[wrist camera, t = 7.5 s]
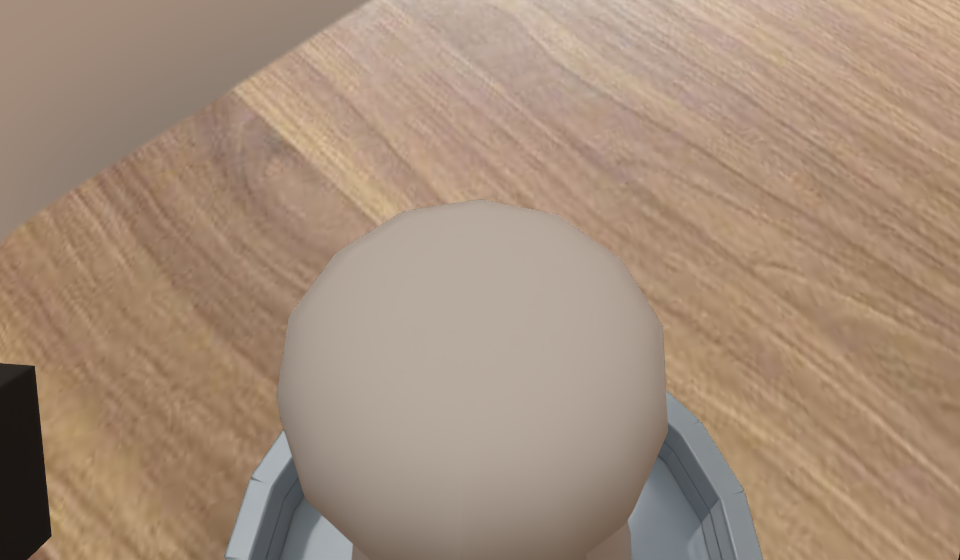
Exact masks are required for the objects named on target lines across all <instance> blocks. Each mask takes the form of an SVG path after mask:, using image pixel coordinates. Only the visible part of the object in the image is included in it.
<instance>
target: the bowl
mask: <svg viewBox="0 0 960 560" xmlns="http://www.w3.org/2000/svg"><path fill="white" fill-rule="evenodd" d="M666 399H667V420H668V433H667V436H666V438H665V440H664V442H663V445H662V447H661V449H660V451H659V454H658V456H657V458H656V461H655V463H654V465H653V467H652V470H651V472H650V474H649V476H648V479H647V481H646V483H645V485H644V488H643V490H642V492H641V495H640V497H639V499H638V501H637V504H636V506H635V508H634V510H633V512H632V514H631V515H630V517H629V519H628V525H629V529H630V533H631V551H632V560H763V556H762V552H761V549H760V545H759V541H758V538H757V534H756V530H755V527H754V523H753V519H752V516H751V512H750V508H749V505H748V501H747V497H746V494H745V493H744V489H743V487H742V486H741V484H740V482H739V481H738V479H737V478H736V476H735V474H734V473H733V471H732V470H731V468H730V466H729V465H728V463H727V462H726V460H725V458H724V457H723V455H722V454H721V452H720V451H719V449H718V447H717V446H716V444H715V443H714V441H713V439H712V438H711V436H710V435H709V433H708V431H707V430H706V428H705V427H704V425H703V423H702V422H701V421H700V422H699V419H698V418H697V417H696V416H695V415H694V414H693V413H691V412H690V411H689V410H688V409H687V408H686V407H685V406H684V405H682V404H681V403H680V402H679V401H678V400H677V399H676V398H674V397H673V396H672V395H671V394H670V393H669V392H668V391H667V390H666ZM352 548H353V543H352V542H351V541H349V540H348V539H347V538H346V537H345V536H344V535H343V534H342V533H341V532H340V531H339V530H338V529H336V528H335V527H334V526H333V525H332V524H331V523H330V522H329V521H328V520H327V519H326V518H325V517H323V516H322V515H321V514H320V513H319V512H318V511H317V510H316V509H315V508H314V507H313V506H312V505H311V504H310V503H309V502H308V501H307V500H306V499H305V496H304V493H303V490H302V487H301V483H300V480H299V477H298V474H297V471H296V467H295V464H294V461H293V458H292V455H291V451H290V448H289V445H288V442H287V439H286V435H285V432H284V429H283V431H282V432H281V433H280V435H279V436H278V438H277V439H276V441H275V442H274V444H273V445H272V446H271V448H270V449H269V451H268V452H267V454H266V455H265V457H264V458H263V459H262V461H261V462H260V464H259V465H258V467H257V468H256V470H255V471H254V472H253V474H252V475H251V479H250V480H249V482H248V485H247V488H246V491H245V494H244V497H243V500H242V503H241V506H240V509H239V513H238V516H237V519H236V522H235V525H234V528H233V531H232V534H231V537H230V540H229V543H228V546H227V549H226V552H225V555H224V558H225V560H351V559H352Z"/></svg>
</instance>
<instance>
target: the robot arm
mask: <svg viewBox="0 0 960 560" xmlns="http://www.w3.org/2000/svg"><path fill="white" fill-rule="evenodd" d="M51 536H52V535H51V525H50V515H49V505H48V495H47V485H46V475H45V464H44V454H43V444H42V434H41V424H40V414H39V404H38V394H37V384H36V374H35V366H29V365H16V364H2V363H0V560H27V559H28V558H29V557H30V556H31V555H32V554H34V553H35V552H36V551H37V550H38V549H39V548H40V547H41V546H42V545H43V544H44V543H45V542H46V541H47V540H48V539H49V538H50V537H51ZM958 560H960V554H959V559H958Z"/></svg>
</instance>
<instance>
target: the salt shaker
mask: <svg viewBox="0 0 960 560" xmlns="http://www.w3.org/2000/svg"><path fill="white" fill-rule="evenodd" d="M277 400H278V407H279V413H280V419H281V423H282V426H283V429H284V432H285V435H286V439H287V442H288V445H289V448H290V451H291V455H292V458H293V461H294V464H295V467H296V471H297V474H298V477H299V480H300V483H301V487H302V490H303V493H304V496H305V499H306V500H307V501H308V502H309V503H310V504H311V505H312V506H313V507H314V508H315V509H316V510H317V511H318V512H319V513H320V514H321V515H322V516H323V517H325V518H326V519H327V520H328V521H329V522H330V523H331V524H332V525H333V526H334V527H335V528H336V529H338V530H339V531H340V532H341V533H342V534H343V535H344V536H345V537H346V538H347V539H348V540H349V541H351V542H352V543H353V548H352V559H351V560H632V551H631V533H630V529H629V525H628V519H629V517H630V515H631V514H632V512H633V510H634V508H635V506H636V504H637V501H638V499H639V497H640V495H641V492H642V490H643V488H644V485H645V483H646V481H647V479H648V476H649V474H650V472H651V470H652V467H653V465H654V463H655V461H656V458H657V456H658V454H659V451H660V449H661V447H662V445H663V442H664V440H665V438H666V436H667V433H668V420H667V399H666V378H665V357H664V338H663V325H662V324H661V322H660V321H659V319H658V317H657V316H656V314H655V312H654V311H653V309H652V307H651V306H650V304H649V303H648V301H647V299H646V298H645V296H644V294H643V293H642V291H641V290H640V288H639V286H638V285H637V283H636V281H635V280H634V278H633V276H632V275H631V273H630V272H629V270H628V268H627V267H626V265H625V263H624V262H623V260H622V259H621V258H620V257H618V256H617V255H615V254H614V253H612V252H611V251H610V250H608V249H607V248H605V247H604V246H602V245H601V244H600V243H598V242H597V241H595V240H594V239H592V238H591V237H590V236H588V235H587V234H585V233H584V232H582V231H581V230H580V229H578V228H577V227H575V226H574V225H572V224H571V223H570V222H568V221H567V220H565V219H564V218H562V217H561V216H560V215H558V214H554V213H549V212H544V211H539V210H534V209H529V208H524V207H519V206H514V205H509V204H504V203H498V202H493V201H488V200H483V199H478V200H471V201H465V202H459V203H452V204H446V205H439V206H433V207H427V208H420V209H414V210H408V211H403V212H401V213H399V214H398V215H396V216H394V217H393V218H391V219H390V220H388V221H386V222H385V223H383V224H381V225H380V226H378V227H377V228H375V229H373V230H372V231H370V232H368V233H367V234H365V235H364V236H362V237H360V238H359V239H357V240H355V241H354V242H352V243H351V244H349V245H347V246H346V247H344V248H342V249H341V250H339V251H338V252H336V253H335V255H334V256H333V257H332V259H331V260H330V261H329V263H328V264H327V265H326V267H325V268H324V270H323V271H322V272H321V274H320V275H319V276H318V278H317V279H316V280H315V282H314V283H313V284H312V286H311V287H310V289H309V290H308V291H307V293H306V294H305V295H304V297H303V298H302V299H301V301H300V302H299V303H298V305H297V306H296V308H295V309H294V310H293V312H292V313H291V314H290V316H289V321H288V327H287V333H286V340H285V346H284V352H283V358H282V365H281V371H280V377H279V383H278V390H277Z"/></svg>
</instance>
